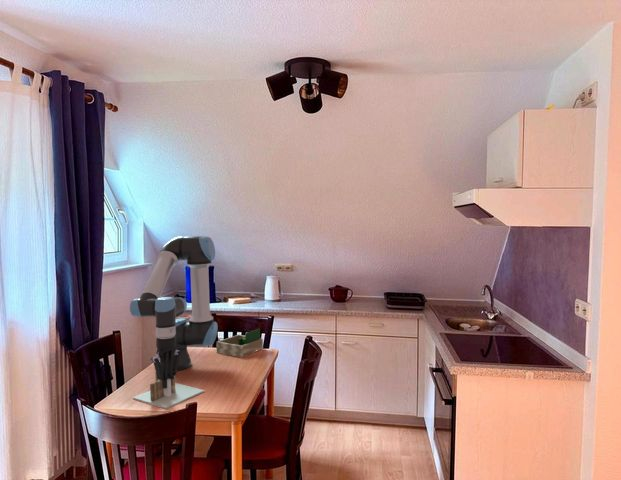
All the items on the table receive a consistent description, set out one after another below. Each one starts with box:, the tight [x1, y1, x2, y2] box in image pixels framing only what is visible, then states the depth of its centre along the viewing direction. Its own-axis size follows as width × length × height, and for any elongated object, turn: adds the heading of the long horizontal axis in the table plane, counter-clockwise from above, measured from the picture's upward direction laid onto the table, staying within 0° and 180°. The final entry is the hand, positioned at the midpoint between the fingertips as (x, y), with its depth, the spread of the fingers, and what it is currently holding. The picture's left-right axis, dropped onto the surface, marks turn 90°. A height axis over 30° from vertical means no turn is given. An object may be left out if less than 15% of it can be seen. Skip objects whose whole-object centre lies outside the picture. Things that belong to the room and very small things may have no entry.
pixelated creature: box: [238, 328, 261, 346], centre depth 245 cm, size 12×12×12 cm
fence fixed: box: [154, 371, 176, 393], centre depth 186 cm, size 11×2×8 cm, turn 58°
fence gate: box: [149, 380, 164, 401], centre depth 178 cm, size 10×2×7 cm, turn 150°
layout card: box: [132, 382, 205, 410], centre depth 182 cm, size 20×20×1 cm
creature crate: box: [216, 334, 264, 358], centre depth 244 cm, size 18×18×6 cm
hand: (167, 395), depth 175 cm, fingers closed
